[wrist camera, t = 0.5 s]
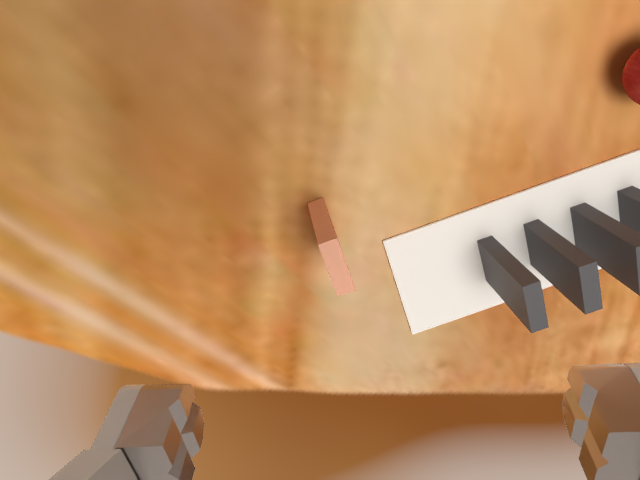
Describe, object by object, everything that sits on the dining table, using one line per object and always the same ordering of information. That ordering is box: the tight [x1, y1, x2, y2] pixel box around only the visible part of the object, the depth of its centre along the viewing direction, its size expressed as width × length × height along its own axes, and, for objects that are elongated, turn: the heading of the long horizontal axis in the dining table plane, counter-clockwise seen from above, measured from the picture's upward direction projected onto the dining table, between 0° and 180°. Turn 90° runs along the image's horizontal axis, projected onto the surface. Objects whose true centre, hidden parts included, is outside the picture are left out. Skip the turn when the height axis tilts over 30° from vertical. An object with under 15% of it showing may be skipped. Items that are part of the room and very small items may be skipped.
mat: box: [382, 149, 640, 335], centre depth 53 cm, size 12×32×1 cm, turn 109°
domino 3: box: [570, 202, 640, 296], centre depth 49 cm, size 5×2×10 cm, turn 19°
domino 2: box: [523, 219, 603, 314], centre depth 49 cm, size 5×2×10 cm, turn 19°
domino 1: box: [477, 235, 549, 333], centre depth 49 cm, size 5×2×10 cm, turn 19°
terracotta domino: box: [307, 198, 356, 296], centre depth 46 cm, size 5×2×10 cm, turn 19°
